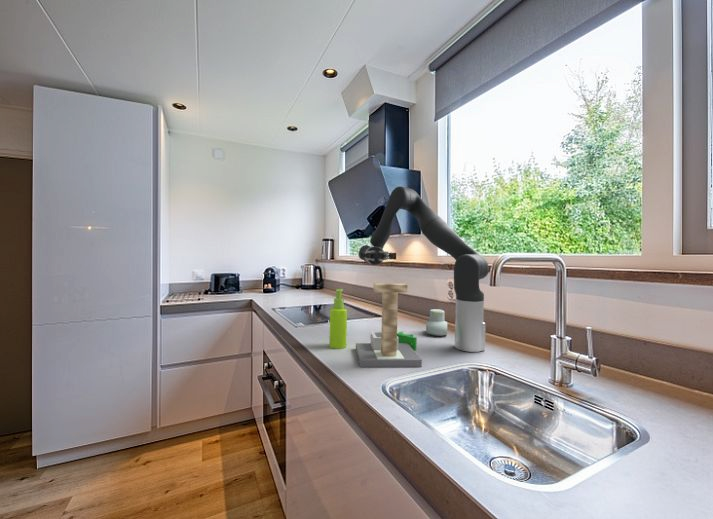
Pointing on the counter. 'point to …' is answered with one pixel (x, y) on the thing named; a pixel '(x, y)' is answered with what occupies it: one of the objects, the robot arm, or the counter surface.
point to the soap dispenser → (338, 323)
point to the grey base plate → (373, 357)
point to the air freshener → (436, 323)
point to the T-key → (389, 315)
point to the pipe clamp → (407, 339)
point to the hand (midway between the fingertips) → (380, 255)
